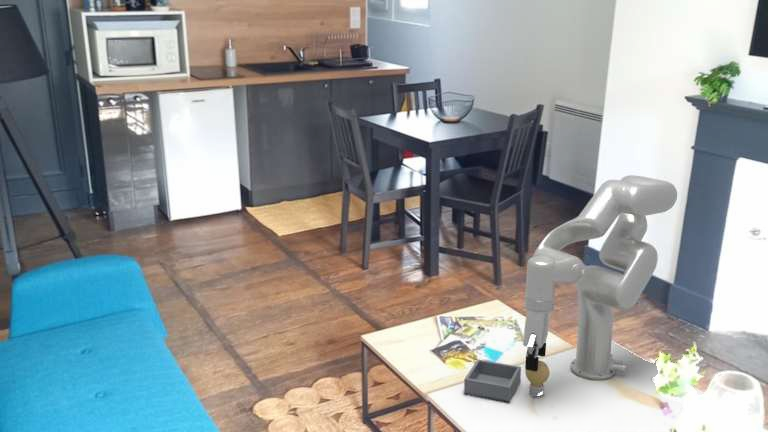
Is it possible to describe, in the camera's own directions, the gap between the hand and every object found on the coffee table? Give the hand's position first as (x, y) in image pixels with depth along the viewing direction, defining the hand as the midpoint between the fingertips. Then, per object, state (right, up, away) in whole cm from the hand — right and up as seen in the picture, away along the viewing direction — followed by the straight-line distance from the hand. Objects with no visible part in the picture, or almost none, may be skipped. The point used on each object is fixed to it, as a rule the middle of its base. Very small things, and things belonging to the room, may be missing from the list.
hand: (535, 362), depth 195 cm
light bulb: (+1, -10, +3) cm, 10 cm away
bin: (-10, -9, +7) cm, 15 cm away
